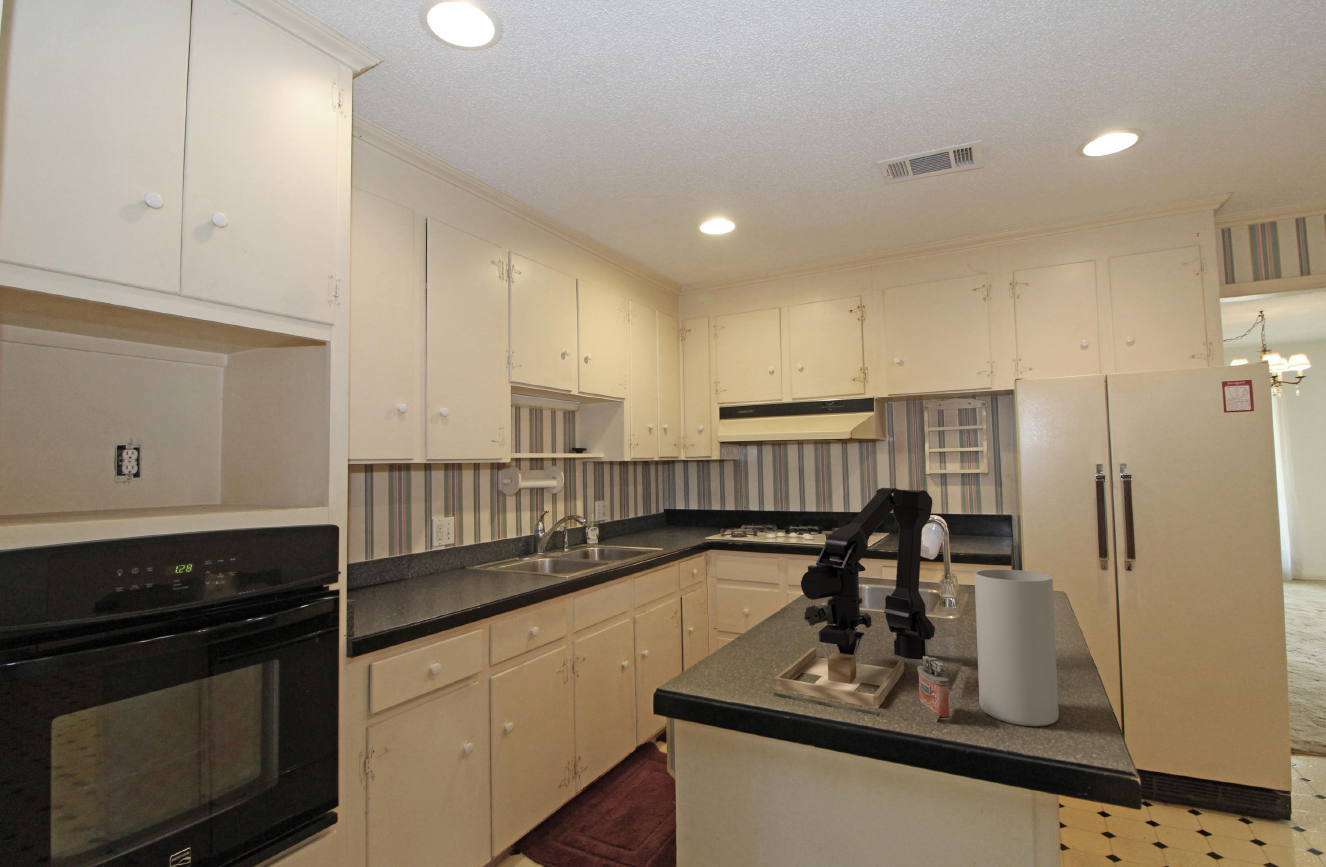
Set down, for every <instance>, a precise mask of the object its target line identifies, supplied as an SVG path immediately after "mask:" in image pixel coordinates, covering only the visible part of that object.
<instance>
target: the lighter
mask: <svg viewBox="0 0 1326 867" xmlns="http://www.w3.org/2000/svg"><path fill="white" fill-rule="evenodd" d="M922 664H923V665H919V666H917V672H918V687H919V689H918V691H919V701H920V703H921V704H923V706H925V708H927V709H929V710H930V711H932V712H934V713H935V714H938V718H937V721H936V723H938V722H939V723H938V724H942V723H943V724H944V723H945V725H947V723H948V724H951V722H952V720H951V715H950V703H949V702H950V701H949V684H950V678H949V677H948V675H946V674H944V673H945V665H944V664H943V663H941V662H939V661H938V659H937V658H936V657H931V656H929V655H928V656H923V659H922Z"/></svg>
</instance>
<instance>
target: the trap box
mask: <svg viewBox="0 0 1326 867" xmlns="http://www.w3.org/2000/svg"><path fill="white" fill-rule="evenodd" d="M904 672H905V661H904V660H899V661H898V663H897V664H896V665H895V667H893V668H892V667H891V668H890V667H885V666H877V665H873V664H865V663H860V662H859V663H857V662H856V678H855V679H854V680H853V682H852V683H851V684H848V683H842V682H836V681H830V680H828V657H827V658H826V657H820V656H817V647H812V648H809V650H807V651H806V652H805V653H804V654H803V655H801V656H800V657H798V658H797V660H795V661H794V662H792V663H791V664H790V665H789V666H788V667H786V668H785V669H783V671H781V672H779V673H778V674H777V675H776V676H774V678H773V689H774V690H778V691H779V690H780V691H784V692H790V693H794V694H798V695H799V694H800V695H807V696H811V697H817V698H822V699H827V700H831V701H838V702H842V703H843V702H844V703H846V704H847V703H848V704H853V705H859V706H864V707H868V708H873V709H874V708H875V709H879V708H880V707H881V704H883V702H884V701H885V699H886V698H887V696H888V695H889V693H890V692H891V691H892V689H893V688H894V686H895V685H896V683H897V682H898V680H899V679H900V678H901V677H902V675H903V673H904ZM802 673H803V674H808V675H813V676H820V678H818V680H816V681H815V682H814V683H811V682H806V681H800V680H795V679H797V678H798V676H800V675H801V674H802ZM861 684H866V685H867V684H868V685H872V686H878V687H879V688H877V690H876V691H875V693H874V694H873V693H867V692H861V691H856V690H857V688H859V687H860V686H861ZM773 696H774V697H776V698H782V699H786V698H788V699H787V700H791V699H792V700H793V701H796V700H797V701H798V702H801V701H802V703H807V702H808V703H807V704H812V705H817V706H822V705H823V707H827V708H832V707H834V708H833V709H837V708H838V709H837V710H842V709H844V711H848V710H851V711H850V712H853V711H856V712H855V713H858V712H862V713H861V714H863V713H867V714H866V715H868V714H873V715H876V716H875V717H880V715H881V712H878V711H877V712H876V711H871V710H868V709H867V710H866V709H861V708H857V707H856V708H855V707H851V706H847V705H846V706H845V705H840V704H834V703H830V702H827V701H826V702H825V701H819V700H814V699H809V698H804V697H799V696H794V695H790V694H784V693H777V692H774V693H773ZM797 701H796V702H797ZM845 709H846V710H845ZM879 714H880V715H879ZM873 715H872V716H873Z"/></svg>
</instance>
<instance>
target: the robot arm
mask: <svg viewBox="0 0 1326 867" xmlns="http://www.w3.org/2000/svg"><path fill="white" fill-rule="evenodd" d="M932 507H933V499H932V496H931V495H930V493H929V492H927V491H926V490H924V489H899V488H896V487H880V488H878V489H876V491H875V493H874V496H873V497H872V498H871V499H870V500H869V501H868V503H866V505H865V506H864V507H862V508H863V509H861V510H860V511H859V513H858V514H857V515H856V516H855V517H854V519H852V521H850V523H848V524H846V525H844V526H842V527H840V528H837V529H836V530H834V531H833V532H831V534H829V535H828V536H827V537H826V539H825V543H824V546H823V547H822V549H821V551H820V554H819V556H818V558H817V560H816V562H815V565H813V564H811V565H807V571H806V572H805V573H804V574H803V576H802V578H801V580H800V587H801V590H802V593H803V595H804V596H805V597H806V598H807V599H809V600H812V601H815V600H819V599H825V598H829V599H828V600H827V603H824V604H821V605H818V606H816V605H815V604H814V605H811V606H809V605H808V606H807V607H806V608H805V611H804V612H803V614H804V616H803V618H804V620H805V621H807V622H808V624H809V627H811V626H815V625H816V624H820V623H824V622H827V625H825V626H824V627H823V628H822V629H821V630H819V631H818V642H819V643H825V644H829V645H831V644H832V645H836V647H837V650H838V651H839V652H838V653H844V654H850V655H856V654H857V652H858V649H859V647H860V645H861V642H862V639H863V638H864V636H865V632H862V631H858V628H857V627H859V626H860V625H864V626H865V628H866V629H870V627H872V617H871V615H870V614H869V613H868V612H867V611H866V612H864V611H861V610H860V609H861V608H860V607H861V606H860V605H861V604H862V603H863V597H860V579H859V578H860V577H859V576H860V575H859V572H865V571H866V567H865V566H864V565H862V564H861V563H860V561H861V559H862V558H863V556H864V555H865V553H866V552H867V550H868V548H869V539H870V537H871V536H872V534H874V532H875V531H877V529H878V528H879V526H880V525H881V524H882V523H883V522H884V521H885V519H887V517H888V516H889V515H890V514H891V513H892V514H893V518H894V519H895V521H896V522H897V525H898V544H897V545H898V546H897V561H896V562H897V563H896V575H895V576H896V578H895V588H894V590H893V591H892V593H891V594H890V595H889V594H886V596H885V599H884V600H885V601H884V603H885V604H884V605H885V607H884V611H883V613H884V614H885V620H886V622H887V625H888V629H889V630H888V631H889V632H890V633H893V634H896V636H895V637H896V638H894V640H893V652H894V653H893V654H894V655H895V656H898V657H901V658H903V659H909V660H923V656H928V657H929V653H928V652H929V651H928V648H929V647H928V640H932V638H934V637H935V631H936V627H935V626H934V624H933V623H932V622H931V620H930V619H929V618H928V617H927V615H926V612H927V611H926V603H925V602H924V599H923V598H922V596H921V593H920V591H919V589H920V576H921V575H920V573H921V558H922V557H921V554H922V540H923V538H922V536H923V528H924V527H925V525H926V524H927V523H928V521H929V520H930V518H931V514H932ZM856 656H857V655H856Z"/></svg>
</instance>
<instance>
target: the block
mask: <svg viewBox="0 0 1326 867" xmlns="http://www.w3.org/2000/svg"><path fill="white" fill-rule="evenodd" d="M827 659H828V680H830V681H836V682H842V683H848V684H851V683H852V682H853V680H854V679H855V678H856V663H857V661H856V660H857V655H850V654H844V653H840V652H836V651H834V652H832V654H830V655H829V656H828V657H827Z"/></svg>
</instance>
